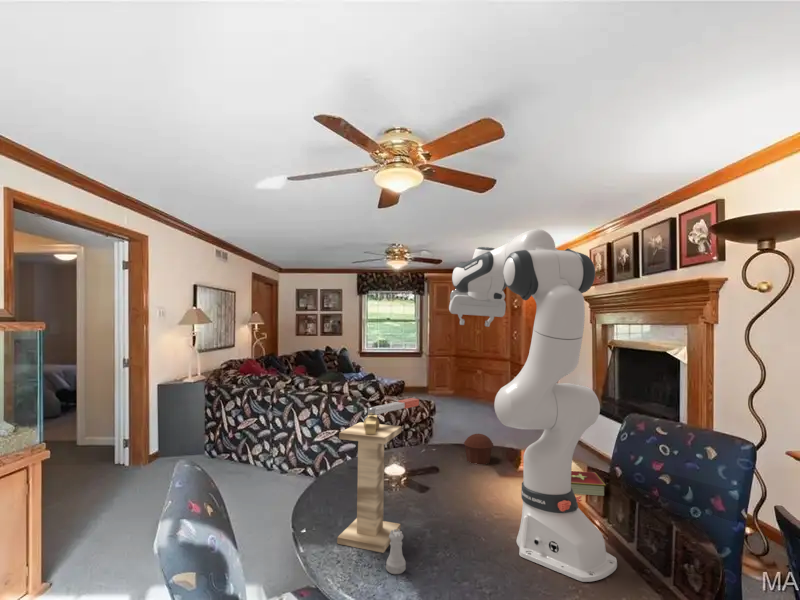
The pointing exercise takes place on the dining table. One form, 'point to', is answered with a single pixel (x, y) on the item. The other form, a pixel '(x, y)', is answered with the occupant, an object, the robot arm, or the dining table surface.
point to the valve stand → (369, 486)
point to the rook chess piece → (396, 554)
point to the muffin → (478, 448)
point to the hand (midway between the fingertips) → (474, 325)
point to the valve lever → (393, 406)
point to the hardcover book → (587, 483)
